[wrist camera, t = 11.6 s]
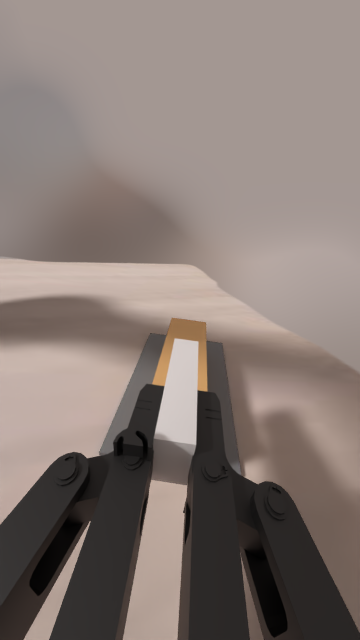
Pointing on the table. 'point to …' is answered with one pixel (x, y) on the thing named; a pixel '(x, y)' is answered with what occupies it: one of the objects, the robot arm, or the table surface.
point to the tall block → (185, 332)
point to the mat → (146, 376)
